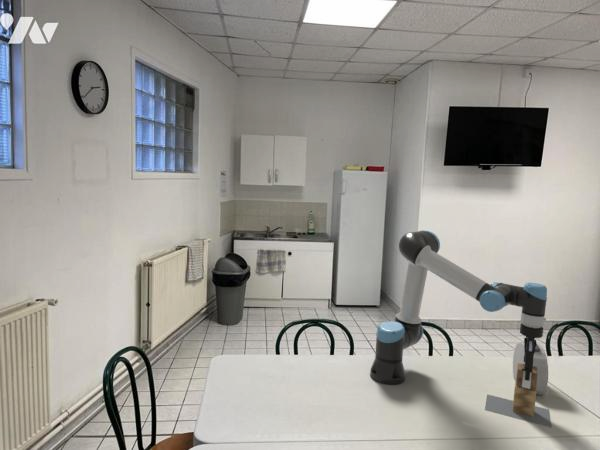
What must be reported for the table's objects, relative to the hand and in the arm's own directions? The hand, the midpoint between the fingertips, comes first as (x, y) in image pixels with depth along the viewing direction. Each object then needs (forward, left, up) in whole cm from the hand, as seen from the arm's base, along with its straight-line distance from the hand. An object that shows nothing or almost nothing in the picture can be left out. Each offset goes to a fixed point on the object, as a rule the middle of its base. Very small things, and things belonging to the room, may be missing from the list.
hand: (525, 383), depth 160 cm
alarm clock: (+2, +25, -12) cm, 28 cm away
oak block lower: (0, 0, -11) cm, 11 cm away
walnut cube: (0, 0, 0) cm, 0 cm away
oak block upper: (0, 0, -6) cm, 6 cm away
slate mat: (-2, 0, -11) cm, 12 cm away
